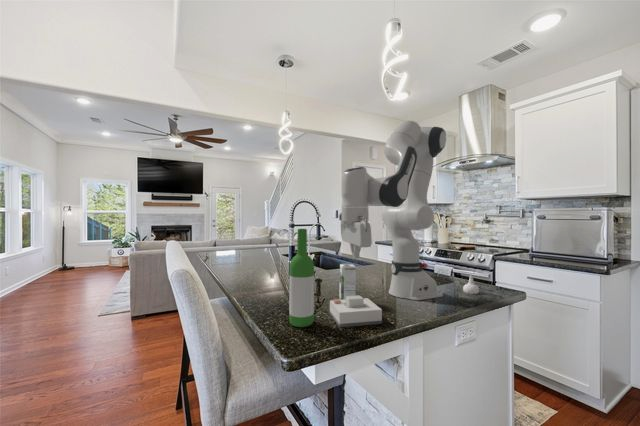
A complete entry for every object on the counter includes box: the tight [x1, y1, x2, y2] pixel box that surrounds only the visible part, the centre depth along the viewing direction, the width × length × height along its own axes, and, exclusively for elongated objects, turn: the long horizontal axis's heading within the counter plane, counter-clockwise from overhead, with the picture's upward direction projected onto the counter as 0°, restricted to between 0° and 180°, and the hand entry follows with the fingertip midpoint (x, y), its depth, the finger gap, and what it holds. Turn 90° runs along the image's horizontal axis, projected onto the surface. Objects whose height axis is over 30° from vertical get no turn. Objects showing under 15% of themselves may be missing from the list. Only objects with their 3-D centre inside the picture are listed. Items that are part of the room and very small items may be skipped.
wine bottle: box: [288, 228, 315, 328], centre depth 90 cm, size 8×8×30 cm
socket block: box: [329, 297, 383, 328], centre depth 95 cm, size 14×12×5 cm
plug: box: [346, 294, 364, 308], centre depth 95 cm, size 5×4×6 cm
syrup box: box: [338, 263, 357, 300], centre depth 112 cm, size 6×6×14 cm
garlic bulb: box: [462, 274, 480, 295], centre depth 126 cm, size 6×6×8 cm
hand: (355, 257), depth 95 cm, fingers closed
